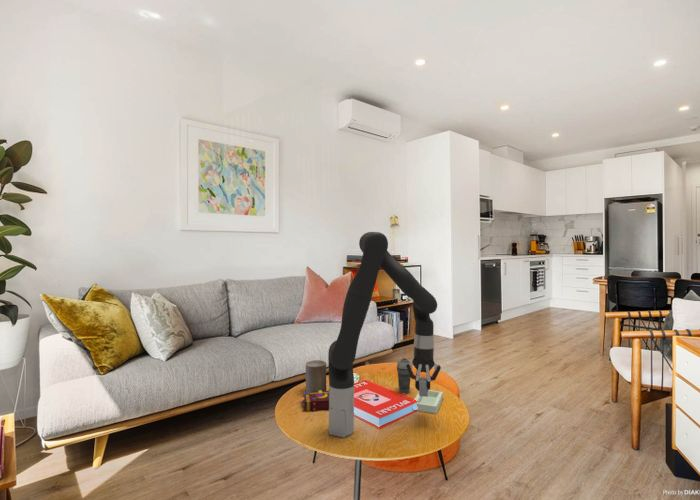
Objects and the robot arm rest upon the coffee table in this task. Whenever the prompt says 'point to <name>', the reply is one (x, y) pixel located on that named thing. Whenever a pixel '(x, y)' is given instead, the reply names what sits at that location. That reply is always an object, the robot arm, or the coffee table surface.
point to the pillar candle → (315, 376)
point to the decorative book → (316, 400)
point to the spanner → (423, 387)
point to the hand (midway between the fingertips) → (422, 389)
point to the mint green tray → (429, 402)
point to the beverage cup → (403, 375)
